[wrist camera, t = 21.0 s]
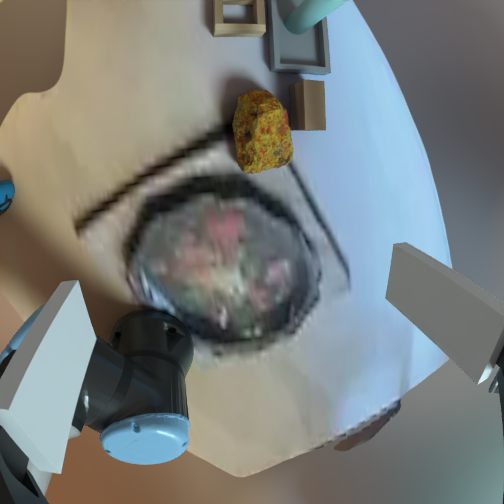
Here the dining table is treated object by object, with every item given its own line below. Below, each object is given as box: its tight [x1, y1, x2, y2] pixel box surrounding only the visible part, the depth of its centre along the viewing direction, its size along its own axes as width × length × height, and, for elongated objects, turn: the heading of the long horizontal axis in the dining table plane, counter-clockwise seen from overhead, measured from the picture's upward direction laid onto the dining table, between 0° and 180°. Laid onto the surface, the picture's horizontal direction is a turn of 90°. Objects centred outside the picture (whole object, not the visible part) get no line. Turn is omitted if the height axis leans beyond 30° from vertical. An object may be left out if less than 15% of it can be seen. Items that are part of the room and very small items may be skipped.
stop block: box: [289, 80, 326, 131], centre depth 40 cm, size 3×7×6 cm, turn 2°
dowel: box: [285, 0, 348, 35], centre depth 30 cm, size 4×4×14 cm
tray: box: [267, 0, 331, 75], centre depth 36 cm, size 9×17×2 cm, turn 2°
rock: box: [232, 89, 293, 174], centre depth 40 cm, size 11×8×10 cm
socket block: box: [213, 0, 266, 37], centre depth 34 cm, size 7×7×3 cm
